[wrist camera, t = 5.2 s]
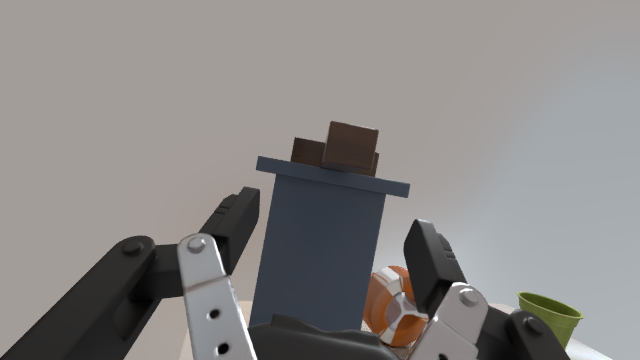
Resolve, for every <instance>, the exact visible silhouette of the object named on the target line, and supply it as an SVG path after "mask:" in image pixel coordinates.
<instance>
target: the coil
mask: <svg viewBox="0 0 640 360" xmlns="http://www.w3.org/2000/svg"><path fill="white" fill-rule="evenodd" d="M372 274H373V275H372V277H370V283H369V288H368V293H367V298H366V304H365V309H364V314H363V320H364V321H365V322H366V324H367V325H368V327H369V328H370V329H371V331H372V332H373V333H376V334H379V337H380V341H381V340H382V341H383V342H385V343H387V344H388V345H389V346H393V347H398V346H399V347H400V346H404V345H408V344H410V343H411V342H413V341H415V340H417V339H418V337H419V335H420V333H421V332H422V330H423V328H424V327H425V325H426V323H427V322H428V320H429V318H428V315H427V314H422V313H418V311H417V307H416V303H415V299H414V294H413V290H412V286H411V282H410V277H409V273H408V270H406V269H404V268H402V267H399V266H388V268H384V269H382V270H379V271H378V272H376V273H372ZM401 292H405V295H402V294H401ZM416 338H417V339H416ZM382 341H381V343H382V344H383V342H382ZM383 345H384V344H383ZM384 346H385V345H384ZM385 347H386V346H385Z"/></svg>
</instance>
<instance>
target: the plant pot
mask: <svg viewBox="0 0 640 360" xmlns="http://www.w3.org/2000/svg"><path fill="white" fill-rule="evenodd" d="M517 296H518V297H519V305H520V309H523V310H526V311H529V312H531V313H533V314H535V315H536V316H538V317H539V318H541V319H542V320H543V321H544V322H545V323H546V324H547V325H548V326H549V327H550V328H551V330H552V331H553V332H554V334H555V336H556V337H557V339H558V341H559V342H560V344H561V345H562V347H563V349H564V350H565V348H566V346H567V343H568V341H569V339H570V337H571V334H572V332H573V330H574V327H576V326H577V324H578V322H579V320H580V319H583V318H584V316H583V314H582V313H581V312H579V311H577V310H576V309H574V308H572V307H570V306H568V305H566V304H564V303H561V302H559V301H556V300H553V299H551V298H548V297H545V296H541V295H537V294H533V293H529V292H518V293H517Z"/></svg>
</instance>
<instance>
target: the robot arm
mask: <svg viewBox="0 0 640 360" xmlns="http://www.w3.org/2000/svg"><path fill="white" fill-rule="evenodd" d="M259 203H260V190H259V189H256V188H250V187H243V189H242V190H241V192H240V193H239V195H234V194H232V195H230V196H228V197H227V198H225V199H223V201H222V202H221V203H220V205H219V207H217V209H216V210H215V211H214V213H213V214H212V215H211V216H210V218H209V219H208V220H207V222H206V223H205V224H204V226H203V227H202V229H200V231H199V232H198V233H196V234H192V235H189V236H187V237H185V238H184V239H182V240H181V241H180V242H179V244H171V245H155V243H154V241H153V239H151V238H150V237H147V236H134V237H129V238H127V239H124V240H122V241H120V242H119V243H117V244H116V245H115V246H114V247H113V248H112V249H111V250H110V251H108V252H107V254H106V255H104V256H103V258H102V259H100V260H99V262H97V263H96V264H95V265H94V266H93V267H92V268H91V269H90V270H89V271H88V272H87V273H86V274H85V275H84V276H83V277H82V278H81V279H80V280H79V281H78V282H77V283H76V284H75V285H74V286H73V287H72V288H71V289H70V290H69V291H68V292H67V293H66V294H65V295H64V296H63V297H62V298H61V299H60V300H59V301H58V302H57V303H56V304H55V305H54V306H53V307H52V308H51V309H50V310H49V311H48V312H47V313H46V314H45V315H43V316H42V317H41V319H39V320H38V321H37V322H36V323H35V325H33V326H32V327H31V328H30V329H29V330H28V331H27V332H26V333H25V334H24V335H23V336H22V337H21V338H20V339H19V340H18V341H17V342H16V343H15V344H14V345H13V346H12V347H11V348H10V349H9V350H8V351H7V352H6V353H5V354H4V355H3V356H2V357H1V358H0V360H123V359H124V358H125V356H126V355H127V353H128V352H129V350H130V348H131V347H132V345H133V344H134V342H135V341H136V339H137V338H138V336H139V334H140V333H141V331H142V330H143V328H144V326H145V325H146V323H147V322H148V320H149V319H150V317H151V316H152V314H153V312H154V311H155V309H156V308H157V306H158V305H159V303H160V301H161V300H162V299H163V298H172V297H180V296H184V302H185V308H186V315H187V321H188V327H189V334H190V340H191V346H192V352H193V359H194V360H401V359H400V358H399V357H398V356H397V355H396V354H395V353H394V352H392V351H391V350H390V349H388V348H387V347H385V346H384V345H382V344H380V337H379V334H376V333H371V332H366V331H360V330H355V329H348V330H335V331H324V330H322V329H320V328H318V327H316V326H314V325H312V324H310V323H308V322H305V321H303V320H301V319H299V318H294V317H289V316H284V315H279V314H274V313H273V317H272V320H271V322H265V323H260V324H257V325H254V326H252V327H249V328H246V325H245V322H244V319H243V316H242V313H241V310H240V307H239V304H238V301H237V298H236V295H235V292H234V289H233V286H232V283H231V280H230V277H229V275H231V274H232V272H233V270H234V268H235V266H236V264H237V262H238V260H239V258H240V256H241V254H242V252H243V250H244V248H245V246H246V244H247V242H248V240H249V238H250V236H251V234H252V232H253V230H254V228H255V226H256V224H257V221H258V217H259V205H260V204H259ZM404 256H405V260H406V265H407V269H408V273H409V277H410V282H411V286H412V290H413V294H414V299H415V303H416V307H417V311H418V313H422V314H427V315H428V318H429V320H428V322H427V323H426V325H425V327H424V328H423V330H422V332H421V333H420V335H419V337H418V339H417V340H416V342H415V344H414V345H413V347H412V349H411V350H410V352H409V354H408V355H407V357H406V359H405V360H476V359H477V360H570V358H569V357H568V355H567V353H566V352H565V350H564V349H563V347H562V345H561V344H560V342H559V341H558V339H557V337H556V336H555V334H554V332H553V331H552V330H551V328H550V327H549V326H548V325H547V324H546V323H545V322H544V321H543V320H542V319H541V318H539V317H538V316H536V315H535V314H533V313H531V312H529V311H526V310H523V309H516V310H514V311H513V312H512V313H511V314H510V315H509V314H507V313H504V312H502V311H500V310H498V309H496V308H493V307H491V306H489V305H488V303H487V301H486V300H485V298H484V297H483V295H482V294H481V293H480V292H479V291H477V290H476V289H475V288H473V287H472V286H470V285H468V284H467V281H466V279H465V277H464V275H463V273H462V271H461V269H460V266H459V264H458V262H457V260H456V259H455V255H454V253H453V252H452V249H451V247H450V245H449V242H448V241H447V240H446V239H445V238H444V237H443V236H442V235H441V234H439V233H436V230H435V228H434V225H433V223H432V222H429V221H424V220H418V219H415V220H414V222H413V224H412V226H411V229H410V231H409V233H408V235H407V237H406V240H405V242H404Z"/></svg>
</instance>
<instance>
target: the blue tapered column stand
mask: <svg viewBox="0 0 640 360" xmlns="http://www.w3.org/2000/svg"><path fill="white" fill-rule="evenodd" d="M256 170H259V171H263V172H269V173H274V174H276V178H275V184H274V189H273V195H272V201H271V206H270V211H269V217H268V222H267V228H266V234H265V240H264V244H263V250H262V255H261V262H260V266H259V272H258V278H257V283H256V289H255V294H254V300H253V305H252V311H251V316H250V322H249V327H252V326H254V325H257V324H260V323H265V322H271V320H272V317H273V313H274V314H279V315H284V316H289V317H294V318H299V319H301V320H303V321H305V322H308V323H310V324H312V325H314V326H316V327H318V328H320V329H322V330H324V331H335V330H348V329H355V330H361V325H362V320H363V314H364V309H365V304H366V298H367V293H368V288H369V283H370V277H371V271H372V266H373V261H374V255H375V250H376V245H377V239H378V235H379V229H380V224H381V219H382V213H383V208H384V203H385V197H386V194H388V195H394V196H399V197H405V198H408V194H409V188H410V184H409V183H403V182H398V181H392V180H387V179H381V178H376V177H371V176H365V175H360V174H354V173H349V172H343V171H338V170H332V169H327V168H322V167H316V166H311V165H305V164H300V163H294V162H288V161H283V160H278V159H273V158H267V157H262V156H258V160H257V166H256ZM249 327H248V328H249Z"/></svg>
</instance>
